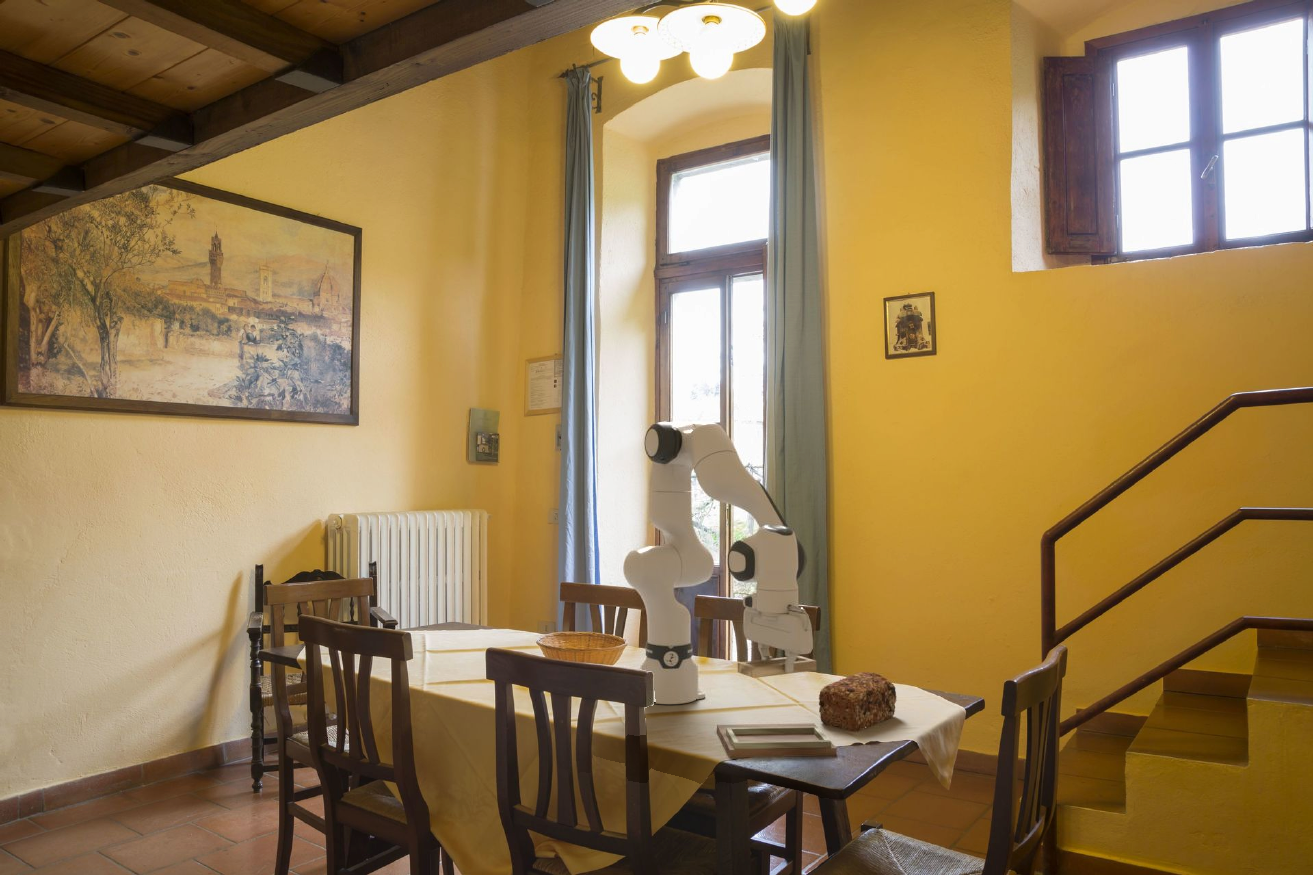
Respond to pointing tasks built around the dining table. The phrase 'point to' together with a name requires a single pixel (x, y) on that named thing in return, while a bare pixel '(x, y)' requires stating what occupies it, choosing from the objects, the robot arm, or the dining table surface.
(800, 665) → the frame
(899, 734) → the dining table surface
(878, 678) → the bread
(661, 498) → the robot arm
